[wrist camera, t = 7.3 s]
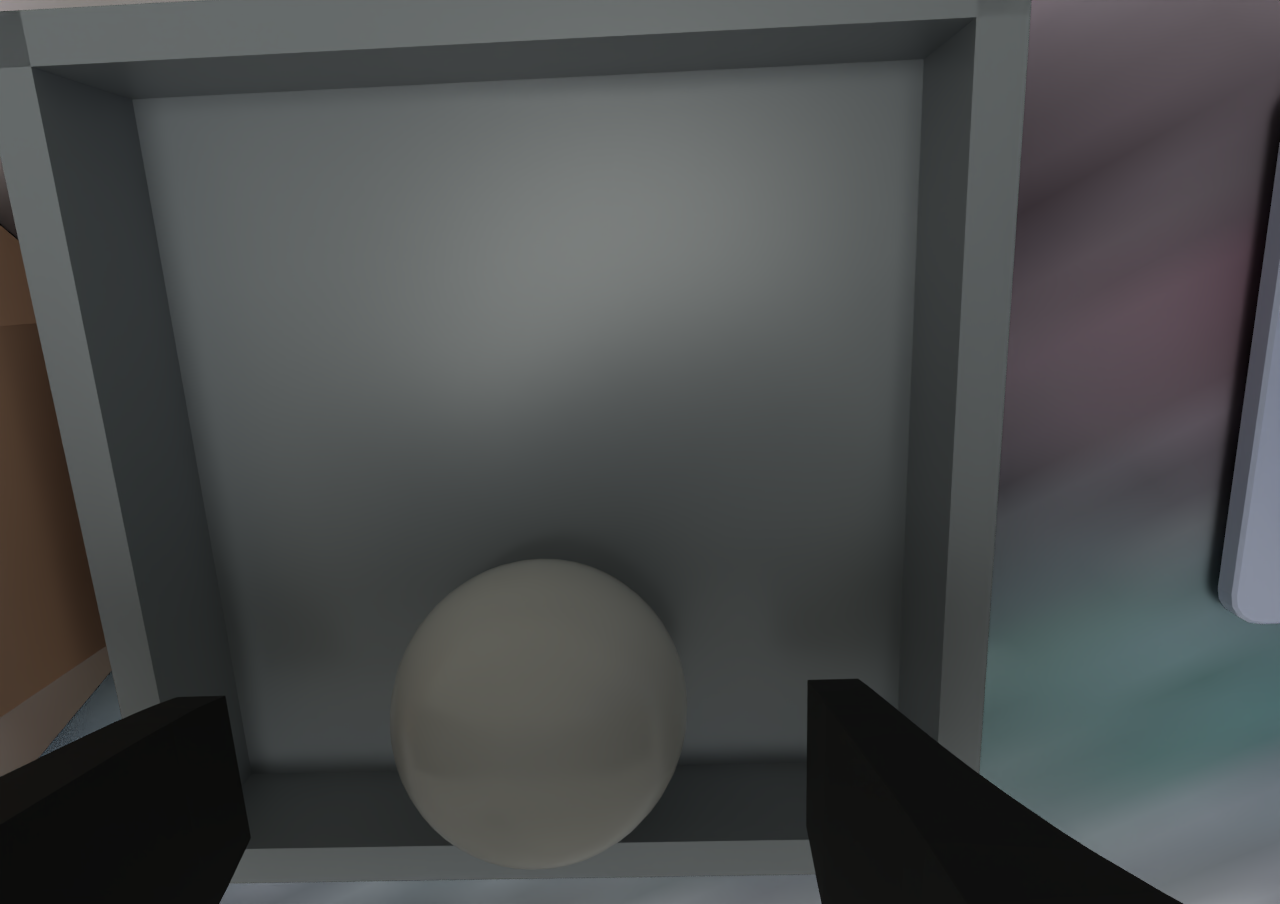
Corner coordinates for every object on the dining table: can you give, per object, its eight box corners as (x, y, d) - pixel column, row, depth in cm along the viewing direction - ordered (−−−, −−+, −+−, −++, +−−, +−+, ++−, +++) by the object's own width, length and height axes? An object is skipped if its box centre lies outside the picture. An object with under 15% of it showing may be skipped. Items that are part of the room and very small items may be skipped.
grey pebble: (679, 517, 12) (688, 634, 8) (686, 743, 13) (697, 946, 9) (425, 524, 12) (316, 644, 8) (450, 749, 13) (361, 951, 9)
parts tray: (960, 17, 11) (1034, -47, 9) (923, 776, 13) (972, 872, 11) (102, 62, 11) (-32, 12, 9) (235, 789, 14) (158, 884, 12)
